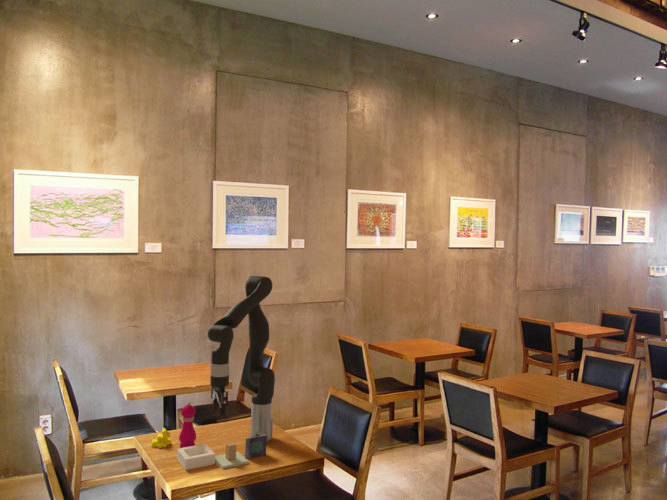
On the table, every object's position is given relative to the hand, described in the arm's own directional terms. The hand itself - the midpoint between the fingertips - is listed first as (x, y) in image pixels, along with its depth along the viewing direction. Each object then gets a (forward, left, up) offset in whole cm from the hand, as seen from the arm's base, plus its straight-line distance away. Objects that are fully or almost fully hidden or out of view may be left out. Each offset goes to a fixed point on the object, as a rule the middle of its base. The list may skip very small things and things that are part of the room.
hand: (219, 413), depth 211 cm
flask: (-15, +4, -20) cm, 25 cm away
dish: (+8, -3, -20) cm, 22 cm away
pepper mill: (+7, -19, -20) cm, 29 cm away
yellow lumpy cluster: (+16, -27, -20) cm, 38 cm away
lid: (-4, +4, -19) cm, 20 cm away
